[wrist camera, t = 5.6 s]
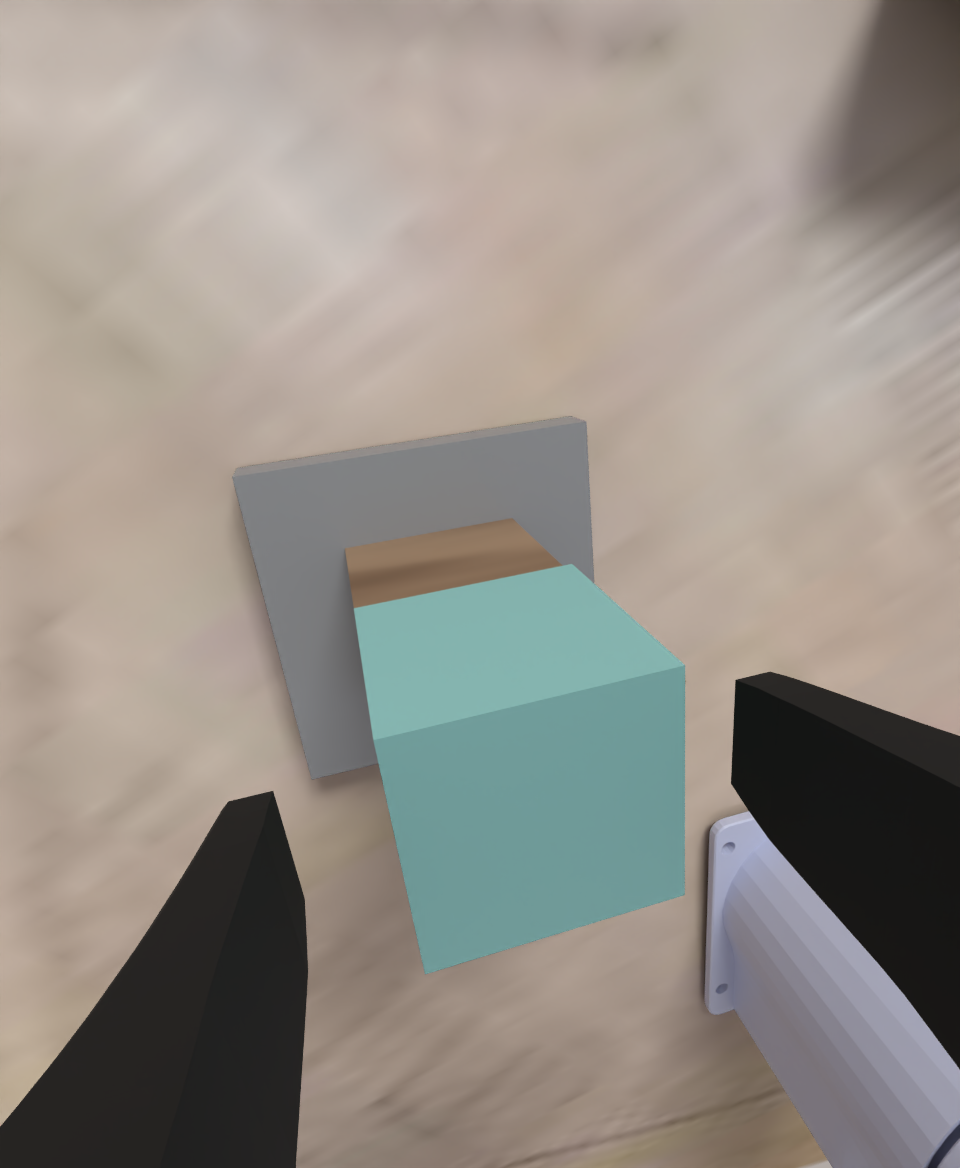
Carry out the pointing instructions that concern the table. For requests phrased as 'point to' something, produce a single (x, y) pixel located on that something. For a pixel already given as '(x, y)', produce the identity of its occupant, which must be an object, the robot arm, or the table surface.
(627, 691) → the teal block
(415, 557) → the walnut block
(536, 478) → the base plate
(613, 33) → the table surface
